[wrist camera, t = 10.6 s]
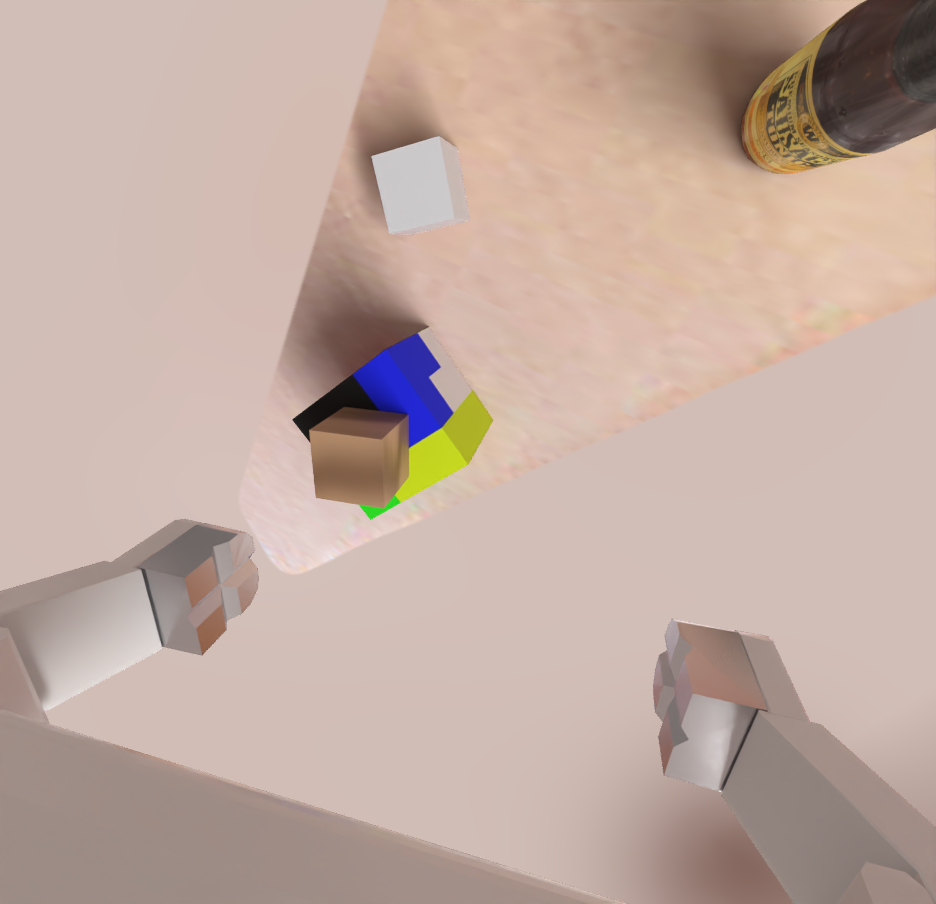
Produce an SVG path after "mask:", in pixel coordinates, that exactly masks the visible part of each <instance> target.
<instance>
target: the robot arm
mask: <svg viewBox="0 0 936 904" xmlns="http://www.w3.org/2000/svg"><path fill="white" fill-rule="evenodd" d="M254 551H255V548H254V543H253V538H252V536H250V535H249V534H247V533H246V532H242V531H237V530H233V529H228V528H224V527H220V526H215V525H211V524H206V523H201V522H196V521H192V520H187V519H180V520H175V521H173V522H172V523H170V524H168V525H167V526H166V527H164V528H162V529H161V530H159V531H158V532H156V533H155V534H153V535H152V536H150V537H149V538H147V539H146V540H144V541H143V542H141V543H140V544H138V545H137V546H135V547H134V548H132V549H130V550H129V551H128V552H126V553H124V554H123V555H121V556H120V557H118V558H117V559H115V560H114V561H113V562H107V561H102V562H99V563H96V564H92V565H89V566H85V567H81V568H78V569H75V570H72V571H68V572H64V573H61V574H57V575H54V576H51V577H47V578H44V579H40V580H37V581H34V582H30V583H27V584H23V585H20V586H16V587H13V588H9V589H6V590H3V591H0V904H627V903H623V902H620V901H617V900H614V899H611V898H607V897H604V896H601V895H598V894H594V893H591V892H588V891H585V890H581V889H578V888H575V887H572V886H568V885H566V884H562V883H559V882H556V881H553V880H549V879H546V878H543V877H540V876H536V875H533V874H530V873H527V872H523V871H520V870H517V869H514V868H511V867H507V866H504V865H501V864H498V863H495V862H491V861H488V860H485V859H482V858H479V857H475V856H472V855H469V854H466V853H462V852H459V851H456V850H453V849H449V848H446V847H443V846H440V845H437V844H434V843H430V842H427V841H424V840H420V839H417V838H414V837H411V836H408V835H404V834H401V833H398V832H395V831H392V830H388V829H385V828H382V827H379V826H376V825H372V824H369V823H366V822H363V821H359V820H356V819H353V818H350V817H346V816H343V815H340V814H337V813H334V812H330V811H327V810H324V809H321V808H317V807H314V806H311V805H308V804H305V803H301V802H298V801H295V800H292V799H289V798H285V797H282V796H279V795H276V794H273V793H269V792H266V791H263V790H260V789H256V788H253V787H250V786H247V785H244V784H240V783H237V782H234V781H230V780H227V779H224V778H221V777H217V776H215V775H212V774H208V773H205V772H202V771H199V770H195V769H192V768H189V767H185V766H183V765H179V764H176V763H173V762H170V761H167V760H163V759H160V758H157V757H154V756H150V755H147V754H144V753H141V752H138V751H134V750H131V749H128V748H125V747H121V746H118V745H115V744H112V743H109V742H105V741H102V740H99V739H96V738H93V737H90V736H86V735H83V734H80V733H76V732H73V731H70V730H67V729H64V728H61V727H57V726H54V725H51V724H50V723H49V721H48V719H47V716H46V714H45V712H46V711H48V710H49V709H51V708H53V707H55V706H57V705H59V704H61V703H62V702H64V701H66V700H68V699H70V698H72V697H74V696H76V695H77V694H79V693H81V692H83V691H85V690H86V689H89V688H90V687H92V686H94V685H96V684H98V683H100V682H102V681H103V680H105V679H107V678H109V677H111V676H113V675H115V674H116V673H118V672H120V671H122V670H124V669H126V668H128V667H130V666H132V665H133V664H135V663H137V662H139V661H141V660H143V659H144V658H146V657H148V656H150V655H152V654H154V653H156V652H158V651H159V650H161V649H162V647H167V648H171V649H176V650H180V651H184V652H189V653H194V654H198V655H203V654H204V653H205V652H206V651H207V650H208V649H209V648H210V647H211V646H212V644H214V643H215V642H216V640H217V639H218V638H219V637H220V636H221V635H222V634H223V633H224V632H225V631H226V629H227V620H229V619H231V618H233V617H236V616H238V615H240V614H242V613H243V612H244V611H245V610H246V609H247V607H248V606H249V605H250V604H251V602H252V600H253V598H254V596H255V594H256V592H257V589H258V581H259V576H258V568H257V567H256V566H255V564H254V563H253V562H252V560H251V559H250V557H251V555H252V554H253V553H254ZM665 641H666V647H667V651H665V652H663V653H662V654H660V655H659V657H658V661H657V664H656V668H655V675H654V684H653V696H654V707H655V713H656V714H657V715H658V716H659V718H660V719H661V720H662V722H663V723H662V726H661V729H660V732H659V736H658V738H659V745H660V752H661V760H662V767H663V773H664V776H667V777H670V778H674V779H677V780H681V781H684V782H688V783H691V784H695V785H698V786H701V787H705V788H709V789H712V790H716V791H719V792H722V794H721V796H722V797H723V799H724V800H725V802H726V803H727V805H728V806H729V807H730V809H731V811H732V812H733V814H734V815H735V817H736V818H737V819H738V821H739V823H740V824H741V826H742V827H743V828H744V830H745V832H746V833H747V834H748V836H749V837H750V839H751V840H752V842H753V843H754V845H755V846H756V848H757V849H758V851H759V852H760V854H761V855H762V857H763V858H764V860H765V861H766V863H767V864H768V866H769V867H770V869H771V870H772V872H773V873H774V875H775V876H776V877H777V879H778V880H779V882H780V884H781V885H782V887H783V888H784V890H785V891H786V893H787V894H788V895H789V897H790V898H791V900H792V901H793V903H794V904H936V827H935V826H934V825H933V824H932V823H931V822H930V821H928V820H927V819H926V818H925V817H924V816H923V815H922V814H921V813H919V812H918V811H917V810H916V809H915V808H914V807H913V806H912V805H910V804H909V803H908V802H907V801H906V800H905V799H904V798H903V797H902V796H900V795H899V794H898V793H897V792H896V791H895V790H894V789H893V788H892V787H890V786H889V785H888V784H887V783H886V782H885V781H884V780H883V779H882V778H880V777H879V776H878V775H877V774H876V773H875V772H874V771H873V770H871V769H870V768H869V767H868V766H867V765H866V764H865V763H864V762H862V761H861V760H860V759H859V758H858V757H857V756H856V755H855V754H854V753H852V752H851V751H850V750H849V749H848V748H847V747H846V746H845V745H843V744H842V743H841V742H840V741H839V740H838V739H837V738H836V737H835V736H833V735H832V734H831V733H830V732H829V731H828V730H827V729H826V728H824V727H823V726H822V725H821V724H817V723H813V722H810V720H809V718H808V716H807V714H806V712H805V709H804V707H803V705H802V703H801V701H800V699H799V697H798V694H797V692H796V690H795V688H794V686H793V683H792V681H791V679H790V677H789V675H788V673H787V670H786V668H785V666H784V664H783V662H782V660H781V658H780V655H779V653H778V651H777V649H776V647H775V645H774V642H773V641H772V640H771V639H770V638H769V637H768V636H764V635H759V634H753V633H748V632H742V631H736V630H735V631H732V630H727V629H722V628H717V627H712V626H706V625H702V624H696V623H691V622H686V621H681V620H676V619H672V620H671V621H670V623H669V624H668V627H667V630H666V633H665Z"/></svg>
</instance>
